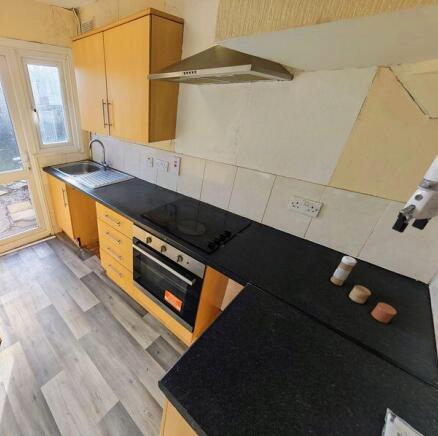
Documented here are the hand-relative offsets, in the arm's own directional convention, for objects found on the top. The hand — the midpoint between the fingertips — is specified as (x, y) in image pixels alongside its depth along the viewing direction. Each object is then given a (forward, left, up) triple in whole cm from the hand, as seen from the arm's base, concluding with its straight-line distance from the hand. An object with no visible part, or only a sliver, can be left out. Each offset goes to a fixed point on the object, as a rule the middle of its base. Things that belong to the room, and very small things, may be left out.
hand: (407, 229), depth 84 cm
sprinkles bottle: (+9, -6, -31) cm, 33 cm away
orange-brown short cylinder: (+9, +13, -31) cm, 35 cm away
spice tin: (+9, +4, -31) cm, 33 cm away
